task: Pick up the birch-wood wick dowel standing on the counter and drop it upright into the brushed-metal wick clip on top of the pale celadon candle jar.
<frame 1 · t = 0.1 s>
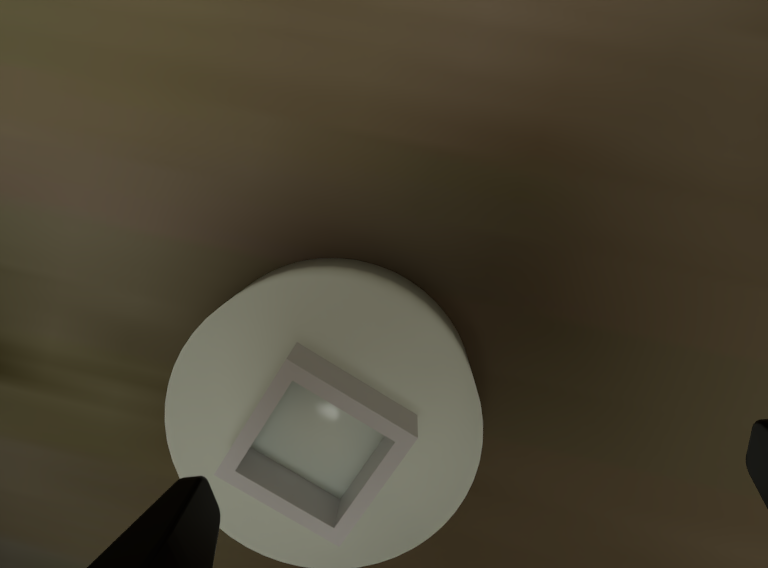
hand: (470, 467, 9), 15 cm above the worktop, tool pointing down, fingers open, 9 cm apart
candle jar: (335, 391, 25), on the worktop
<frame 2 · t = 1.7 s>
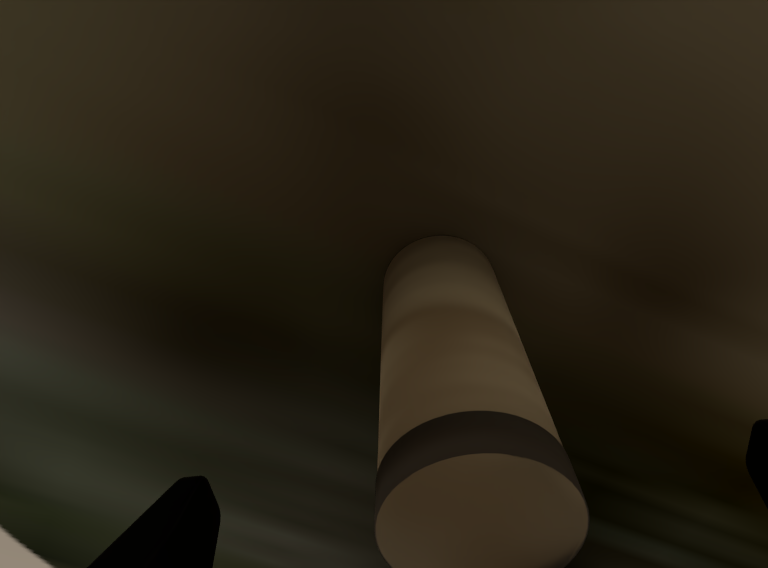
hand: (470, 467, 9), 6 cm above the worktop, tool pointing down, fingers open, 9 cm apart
wick dowel: (438, 287, 14), on the worktop
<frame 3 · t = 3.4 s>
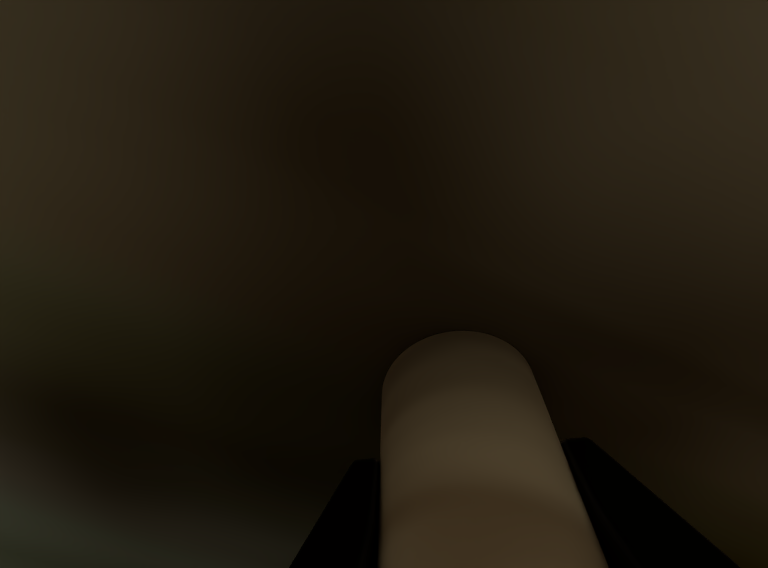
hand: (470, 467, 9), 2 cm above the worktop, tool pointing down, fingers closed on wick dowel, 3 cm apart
wick dowel: (458, 395, 10), on the worktop, touching gripper
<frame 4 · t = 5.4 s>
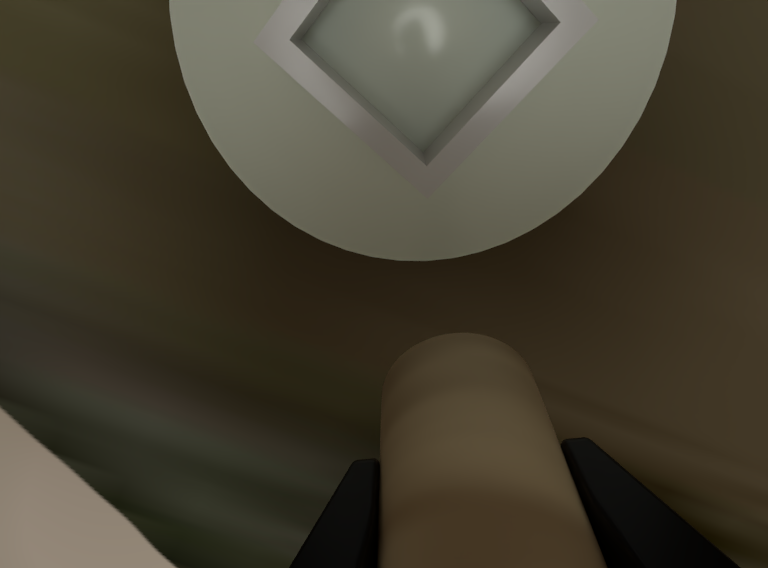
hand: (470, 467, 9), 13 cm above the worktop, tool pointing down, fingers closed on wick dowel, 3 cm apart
candle jar: (414, 31, 17), on the worktop
wick dowel: (457, 397, 10), point 11 cm above the worktop, touching gripper
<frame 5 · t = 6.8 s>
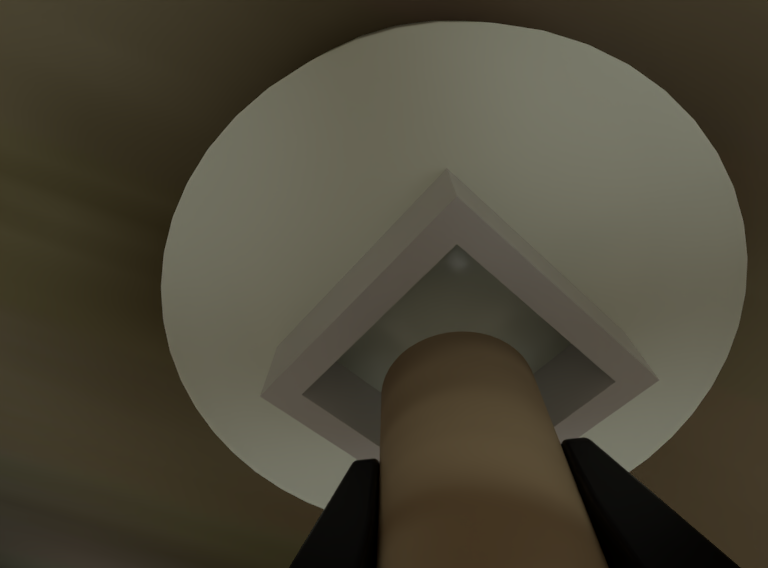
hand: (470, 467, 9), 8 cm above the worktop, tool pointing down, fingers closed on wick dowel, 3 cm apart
candle jar: (435, 264, 16), on the worktop
wick dowel: (457, 396, 10), point 6 cm above the worktop, touching gripper
when the fingers open (7 cm above the worktop, at t = 7.7 s): wick dowel stays where it is, resting on candle jar.
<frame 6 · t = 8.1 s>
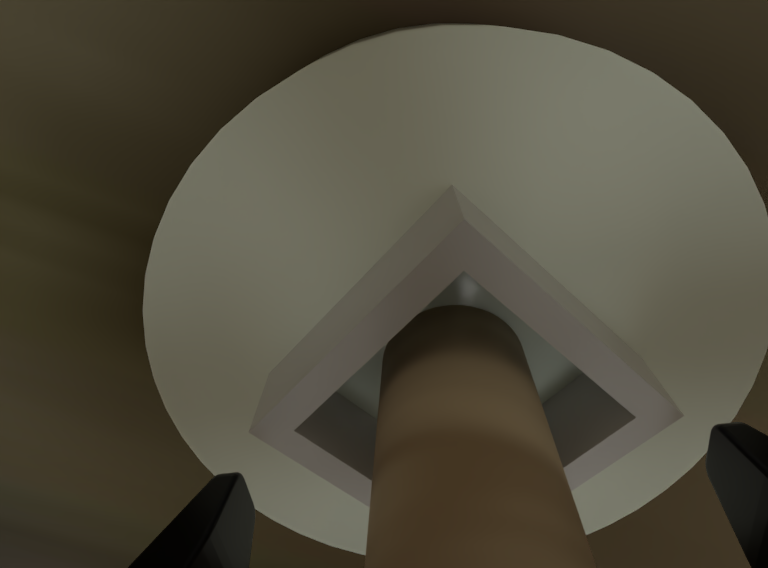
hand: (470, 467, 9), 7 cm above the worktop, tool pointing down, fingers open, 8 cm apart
candle jar: (438, 281, 15), on the worktop
wick dowel: (452, 367, 11), point 4 cm above the worktop, touching candle jar
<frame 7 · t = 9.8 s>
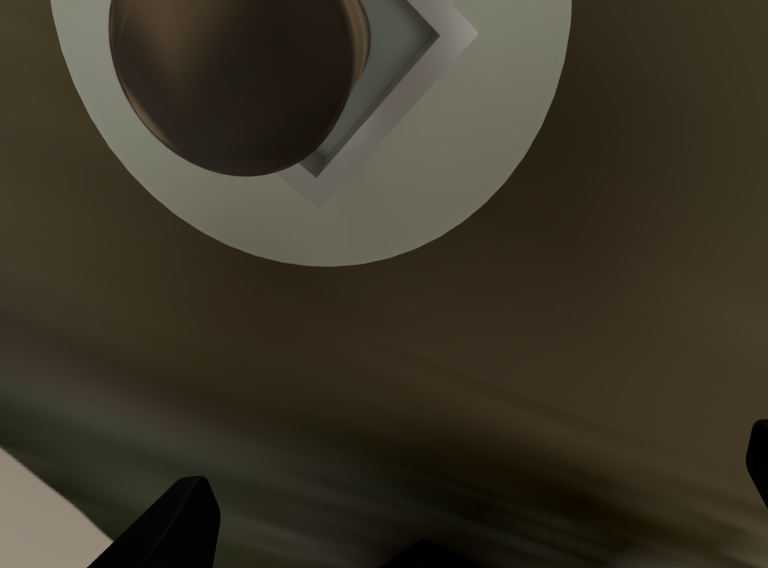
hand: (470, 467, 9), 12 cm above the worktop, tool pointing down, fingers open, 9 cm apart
candle jar: (328, 29, 17), on the worktop
wick dowel: (311, 37, 13), point 4 cm above the worktop, touching candle jar
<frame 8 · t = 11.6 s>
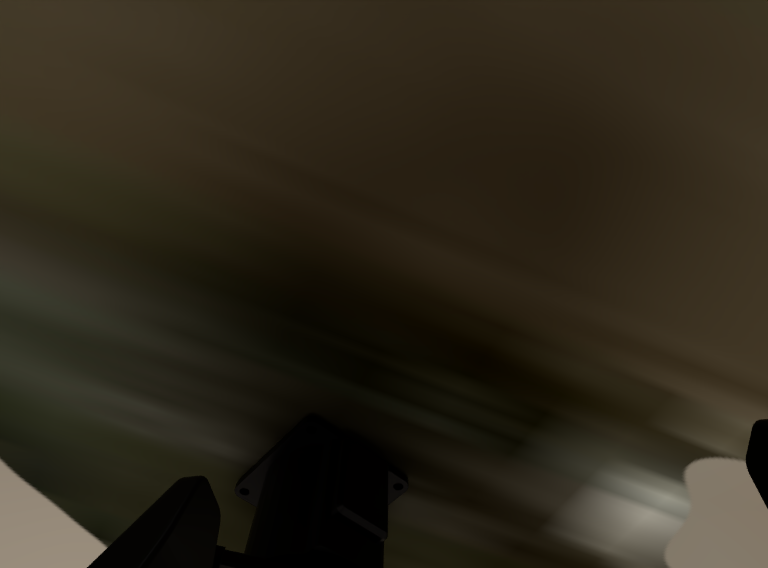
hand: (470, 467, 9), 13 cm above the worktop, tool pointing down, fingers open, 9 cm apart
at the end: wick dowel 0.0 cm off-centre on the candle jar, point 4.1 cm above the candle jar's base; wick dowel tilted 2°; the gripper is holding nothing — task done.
